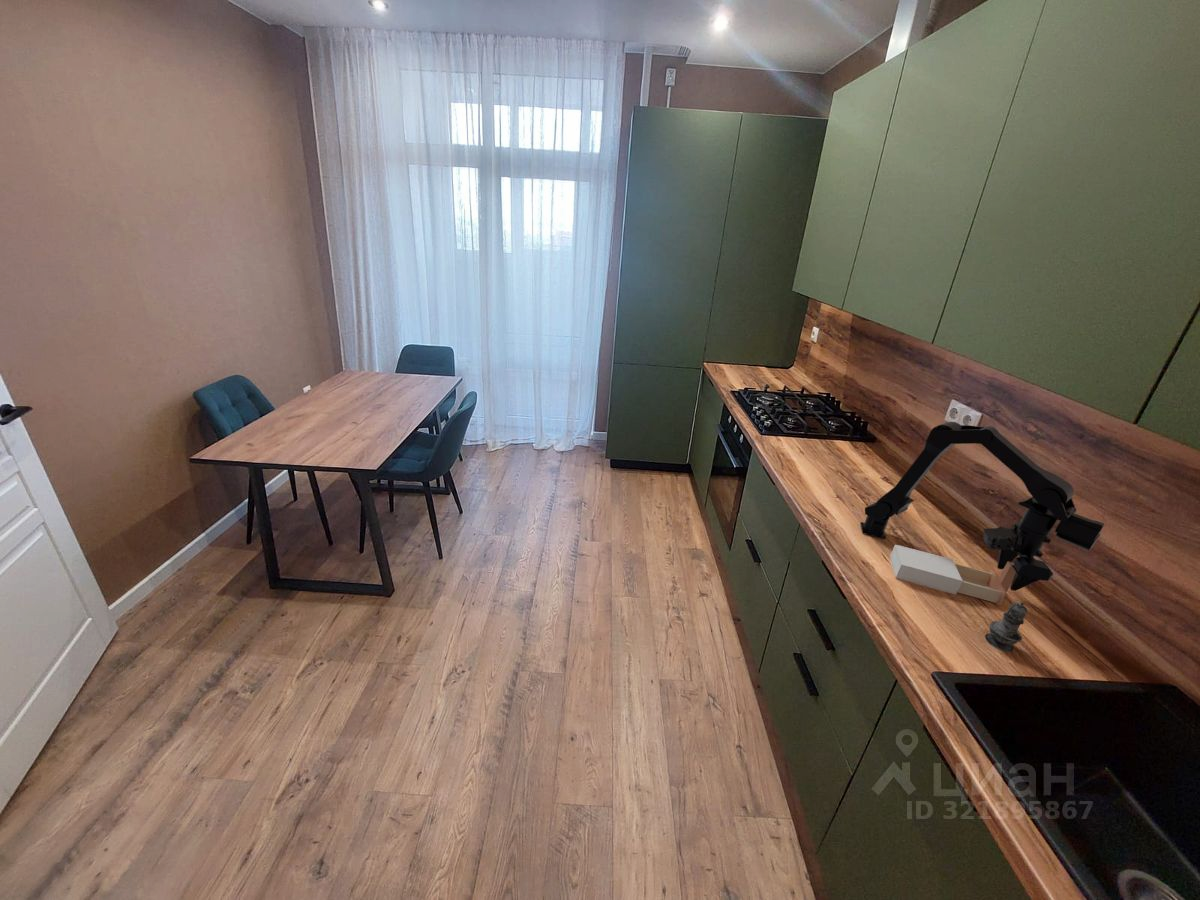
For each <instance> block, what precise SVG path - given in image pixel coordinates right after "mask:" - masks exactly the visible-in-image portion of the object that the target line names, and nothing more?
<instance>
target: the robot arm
mask: <svg viewBox="0 0 1200 900" xmlns="http://www.w3.org/2000/svg"><path fill="white" fill-rule="evenodd" d="M962 444H965V445H966V444H971V445H972V444H980V445H982V446H983V447H984V448H985V449H986V450H987V451H989V452H990V453H991V454H992V455H993V456H994V457H995V458H996V459H997V460H999V461H1000V462H1001V463H1002V464H1003V465H1004V466H1006V467H1007V468H1008V469H1009V470H1010V471H1011V472H1012V473H1014V474H1015V475H1016V476H1017V477H1018V478H1019V479H1020V480H1021V482H1022V483H1023V485H1024V486H1025V487H1026V491H1027V492H1028V493H1029V494H1030V495H1031V496H1030V497H1029V498H1023V499H1022V500H1020V501H1019V502H1018V505H1019V506H1021V507H1024V508H1026V510H1025V512H1024V514H1023V516H1022V518H1021V520H1020V521H1019V523H1014V524H1012V525H1011V527H1010V528H1009V527H1003V526H999V527H996V528H995V527H994V528H992V527H991V528H990V527H989V528H984V529H983V542H984V543H985V544H986V547H987V548H988V549H991V550H998V556H997V566H996V567H997V569H999V570H1003V569H1004V567H1005V565H1006V564H1007V562H1012V563H1014V565H1012V567H1013V568H1014V570H1015V571H1016V573H1015V576H1014V578H1013V581H1012V584H1011V585H1010V587H1009V589H1010V590H1011V591H1018V590H1020V589H1022V588H1024V587H1026V586H1029V585H1031V584H1033V583H1036V582H1038V581H1047V582H1049V581H1050V580H1051V579H1052V577H1053V576H1054V573H1053V571H1052V570H1051V568H1050V567H1049V566H1048V565H1047V564H1046V562H1045V561H1043V560H1041V559H1035V558H1034V557H1039V558H1042V556H1043V552H1042V551H1041V549H1042V548H1043V546H1044V544H1050V543H1051V541H1052V539H1051V538H1050V537H1049V535H1050V534H1051V533H1052V531H1053V528H1054V527H1055V525H1056V523H1057V521H1059V522H1058V525H1057V526H1056V528H1055V530H1054V533H1055V536H1056V537H1057V539H1059V540H1061V541H1064V542H1067V543H1069V544H1071V545H1073V546H1076V547H1078V548H1081V549H1083V550H1085V551H1088V552H1090V550H1092V548H1093V547H1094V545H1095V544H1096V543H1097V541H1098V540H1099V538H1100V536H1101V532H1102V530H1103V528H1104V527H1105V525H1106V524H1105V523H1104V522H1100V521H1098V520H1093V519H1090V518H1087V517H1085V516H1082V515H1080V514H1077V513H1076V512H1077V508H1076V505H1075V503H1074V499H1073V496H1074V487H1073V486H1072V484H1071V483H1069V482H1068V481H1066V480H1064V479H1063V478H1061V477H1060V476H1058V475H1057V474H1055V473H1053V472H1051V471H1048V470H1045V469H1044V468H1042V467H1040V466H1039V465H1038V464H1037V463H1035V462H1034V461H1033V460H1032V459H1030V458H1029V457H1028V456H1027V455H1026V454H1025V453H1023V452H1022V451H1021V450H1020V449H1019V448H1018V447H1016V446H1015V445H1014V444H1013V443H1011V442H1010V441H1009V440H1008V439H1007V438H1005V437H1004V436H1003V435H1002V434H1001V433H1000V432H999V431H998V429H997V428H995V427H993V426H977V425H961V424H960V423H959V422H956V421H947V422H943V423H941V424H939V425H936V426H934V427H932V429H931V430H930V432H929V434H928V436H927V438H926V439H925V442H924V446H923V447H924V449H923V450H922V451H921V452H920V454H918V456H917V458H916V459H915V460H914V461H913V463H912V464H911V465H910V466H909V468H908V470H907V471H906V472H905V473H904V474H903V476H902V477H901V478H900V479H899V481H898V482H897V484H895V486H894V487H893V488H891V489H890V490H889V491H888V492H886V493H885V494H884V495H882V496H881V497H880V498H879V499H877V501H876V502H874V503H872V504H869V505H868V506H866V507H865V508H864V514H865V515H866V518H865V521H864V522H862V521H861V522H860V528H861V532H862V534H865V535H868V536H872V537H876V538H880V539H883V540H886V538H887V537H886V533H885V530H886V527H887V525H888V523H889V520H890V518H891V517H894V516H895V515H896V516H898V515H900V514H902V513H903V512H906V511H907V510H908V508H909V506H910V505H911V504H912V503H913V502H915V500H914V499H913V498H911V494H912V492H913V491H914V490H915V488H916V487H917V486H918V484H919V483H920V482H921V481H922V480H923V478H925V476H926V475H927V473H929V471H930V470H931V469H932V467H933V466H934V464H935V463H936V462H937V461H938V460H939V458H940V457H941V456H942V455H943V454H945V453H946V452H947V451H949V450H950V449H951V448H953V447H954V446H955V445H962ZM1013 560H1014V561H1013Z"/></svg>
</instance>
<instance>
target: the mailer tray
mask: <svg viewBox="0 0 1200 900" xmlns="http://www.w3.org/2000/svg"><path fill="white" fill-rule="evenodd" d="M954 564H955V566H956V568H957V570H958V572H959V574H960V576H961V578H962V580H963V582H962V584H961V586H960V588H959V590H958V591H957V593H959V594H962V595H967V596H971V597H973V598H977V599H981V600H985V601H988V602H991V603H996V604H997V606H1001V605H1002V604H1003V602H1004V599H1005V598H1006V596H1007V595H1008V594H1007V592H1008V590H1009V589H1010V587H1011V584H1012V581H1013V578H1014V576H1015V573H1016V571H1015V570H1014V568H1013V567H1012V565H1014V562H1013V561H1012V562H1007V564H1006V565H1005V567H1004V569H1002V571H1001V573H1000V574H999V576H998V575H996V573H995V571H994V570H993V569H990V571H985V570H981V569H977V568H974V567H969V566H966V565H962V564H958V563H954Z"/></svg>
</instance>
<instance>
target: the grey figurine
mask: <svg viewBox="0 0 1200 900" xmlns="http://www.w3.org/2000/svg"><path fill="white" fill-rule="evenodd" d="M1027 614H1028V609H1027V607H1026V606H1025V603H1024V601H1020V602H1014V603H1012V604H1010V606H1009V608H1008V610H1007V611H1005V612H1003V617H1002V619H1001V621H996V620H995V621H991V622H990V623H989V626H990V627H989V632H990V633H986V634H984V635H985V636H984V638H985V640H986V641H987V643H988V644H989V645H990V646H992V647H993V648H995V649H997V650H999V651H1002V652H1006V653H1011V652H1013V651H1014V645H1015V644H1017V643H1019V642H1021V641H1022V640H1023V635H1022V634H1021V633H1020V632H1019V631H1018V629H1019V628H1020V626H1021V625H1024V623H1025V621H1024V618H1025V616H1026V615H1027Z"/></svg>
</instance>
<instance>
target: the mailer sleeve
mask: <svg viewBox="0 0 1200 900" xmlns="http://www.w3.org/2000/svg"><path fill="white" fill-rule="evenodd" d="M889 560H890V564H891V567H892V570H893V574H894V578H895V579H897V580H900V581H904V582H908V583H912V584H916V585H918V586H923V587H925V588H929V589H930V588H931V589H934V590H937V591H940V592H944V593H948V594H952V595H954V596H956V595H957V593H958V592H957V591H958V590H959V588H960V586H961V584H962V582H963V580H962V578H961V576H960V574H959V572H958V570H957V568H956V566H955V564H956V563H955V561H954V560H953V558H949V557H945V556H941V555H938V554H933V553H930V552H926V551H922V550H918V549H914V548H911V547H906V546H903V545H900V544H899V545H898V544H894V546H893V548H892V551H891V553H890V556H889Z"/></svg>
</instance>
